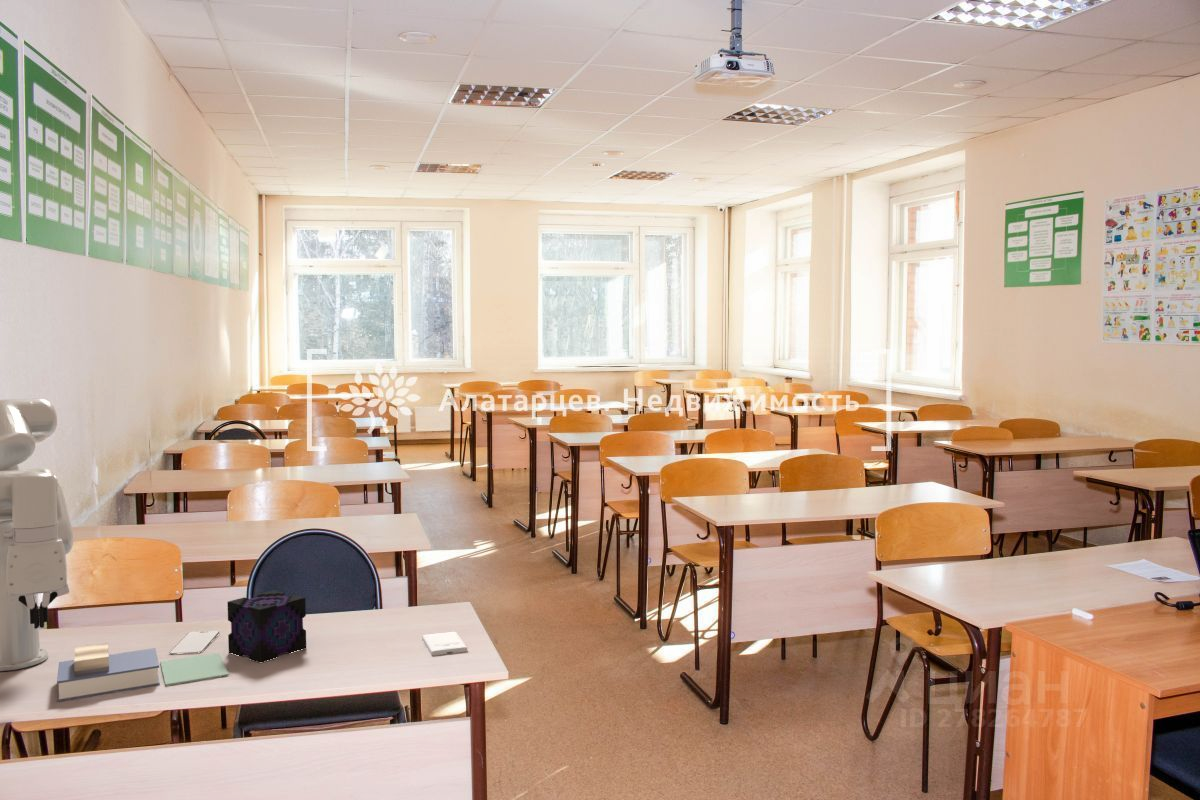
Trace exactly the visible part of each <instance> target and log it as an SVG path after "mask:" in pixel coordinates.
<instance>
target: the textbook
mask: <svg viewBox="0 0 1200 800" xmlns="http://www.w3.org/2000/svg"><path fill="white" fill-rule="evenodd" d="M158 668H160V664H159V659H158V654H157V650H156V647H154V648H153V647H152V648H147V649H140V650H134V651H127V652H119V653H113V654H109V671H107V672H101V673H94V674H88V675H81V676H75V669H74V659H73V660H65V661H60V662H59V661H58V667H57V678H56V684H58V691H57V692H58V693H57V702H63V701H70V700H76V699H82V698H88V697H94V696H99V695H106V694H112V693H119V692H124V691H129V690H136V689H142V688H149V687H154V686H155V687H156V686H160V685H161V684H160V683H161V682H160V678H159V671H158Z"/></svg>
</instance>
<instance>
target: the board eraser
mask: <svg viewBox="0 0 1200 800" xmlns="http://www.w3.org/2000/svg"><path fill="white" fill-rule="evenodd" d="M109 655H110V654H109V643H108V642H106V643H98V644H92V645H85V646H77V647H74V658H73V660H74V669H75V676H81V675H88V674H94V673H101V672H107V671H109Z"/></svg>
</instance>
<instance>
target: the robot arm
mask: <svg viewBox="0 0 1200 800" xmlns="http://www.w3.org/2000/svg"><path fill="white" fill-rule="evenodd" d="M57 425H58V416H57V412H56V409H55V407H54V405H53V404H52V403H51V402H50V401H48V400H46V399H45V398H44V399H43V398H16V399H15V398H11V399H10V398H9V399H0V672H7V671H9V672H10V671H16V670H21V669H25V668H29V667H32V666H35V665H38V664H41V663H42V662H44V661H47V659H48V658H49V652H48V650H47V649H46V650H45V649H43V648H40V628H41V629H42V628H45V623H48V622H49V605H50V604H51V603H52V602H53V601H54V600H55V599H56V598H58V597H61V596H64V595H68V594H69V593H70V587H69V584H68V566H67V565H68V564H67V555H68V554H69V553H70V552H71V550H72V549H73V547H74V546H73V545H74V535H73V529H72V524H71V520H70V519H71V518H70V516H69V512H68V507H67V503H66V499H65V495H64V492H63V488H62V487H61V485H60V483H59V482H58V481H59V479H58V477H57V476H56V475H55V474H54V473H53V471H52V470H50V469H48V468H32V469H31V468H30V469H28V468H27V469H19V465H20V464H22V463H24V462H26V461H27V460H28V459H30V458H31V457H32V455H33V454H34V452H35V449H36V444H38V443H41V442H43V441H45V440H46V439H48V438H49V437H51V436H52V435H53V434H54V432H56V431H55V430H56V428H57ZM39 594H42V600H41V602H40V604H39Z"/></svg>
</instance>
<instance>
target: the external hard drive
mask: <svg viewBox="0 0 1200 800" xmlns="http://www.w3.org/2000/svg"><path fill="white" fill-rule="evenodd" d="M421 637H422V639H421V641H422V642H423V641H424V642H423V643H425V644H424V645H425V647H426V646H427V647H426V648H428V649H427V650H428V652H429V654H430V656H433V655H434V656H441V655H448V654H449V655H450V654H457V653H465V652H468V647H467V646H466V643H465V642H464V641H463V640H462V638H461V637H460V635H459V634H458V633H457V632H456V631H449V632H448V631H447V632H439V633H432V634H431V633H430V634H429V633H428V634H423V635H422V636H421ZM434 656H433V657H434Z"/></svg>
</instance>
